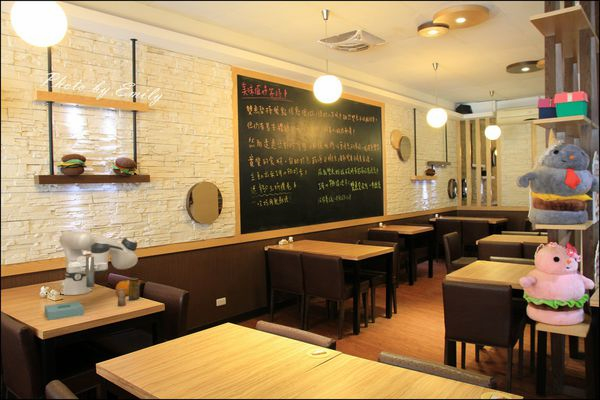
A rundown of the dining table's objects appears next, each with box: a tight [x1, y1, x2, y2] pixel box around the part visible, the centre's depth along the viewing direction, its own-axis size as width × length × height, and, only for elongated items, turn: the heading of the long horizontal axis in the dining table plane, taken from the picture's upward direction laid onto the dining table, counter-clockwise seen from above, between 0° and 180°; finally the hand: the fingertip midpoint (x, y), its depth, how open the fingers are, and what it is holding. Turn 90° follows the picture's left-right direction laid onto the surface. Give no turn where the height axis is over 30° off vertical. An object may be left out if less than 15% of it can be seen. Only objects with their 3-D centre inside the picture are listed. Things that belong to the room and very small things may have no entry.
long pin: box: [86, 256, 95, 288], centre depth 239 cm, size 4×4×16 cm
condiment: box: [125, 277, 143, 302], centre depth 263 cm, size 7×8×12 cm
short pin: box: [117, 289, 126, 307], centre depth 249 cm, size 4×4×9 cm
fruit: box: [115, 278, 130, 297], centre depth 275 cm, size 12×12×10 cm
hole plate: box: [44, 300, 85, 321], centre depth 232 cm, size 16×16×4 cm
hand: (90, 269), depth 238 cm, fingers closed on long pin, 4 cm apart
